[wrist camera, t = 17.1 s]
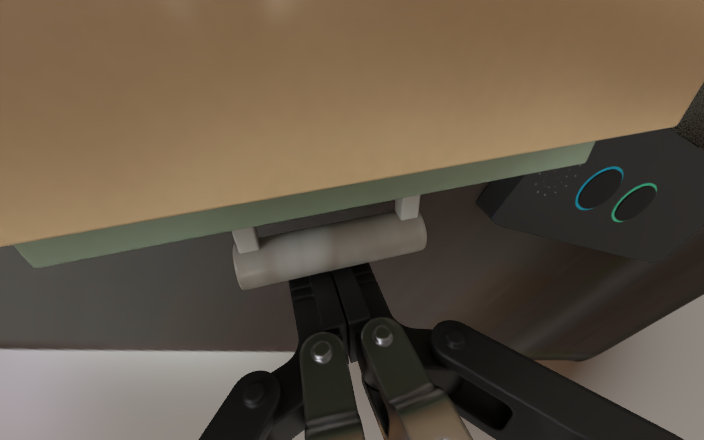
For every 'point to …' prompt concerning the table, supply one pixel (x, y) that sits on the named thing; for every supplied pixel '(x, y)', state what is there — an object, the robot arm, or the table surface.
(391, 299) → the table surface
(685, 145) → the smart home device
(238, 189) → the cabinet
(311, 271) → the drawer
